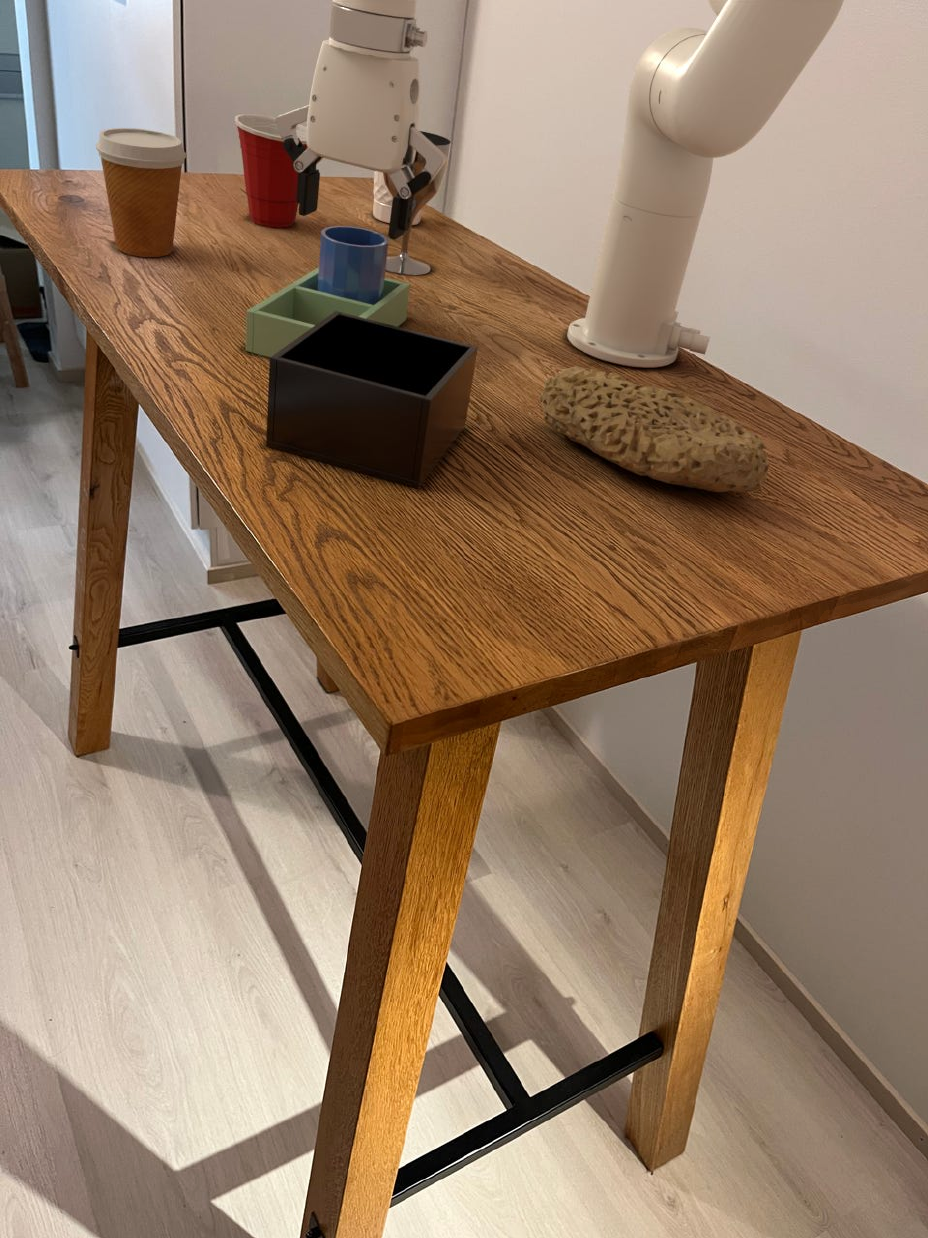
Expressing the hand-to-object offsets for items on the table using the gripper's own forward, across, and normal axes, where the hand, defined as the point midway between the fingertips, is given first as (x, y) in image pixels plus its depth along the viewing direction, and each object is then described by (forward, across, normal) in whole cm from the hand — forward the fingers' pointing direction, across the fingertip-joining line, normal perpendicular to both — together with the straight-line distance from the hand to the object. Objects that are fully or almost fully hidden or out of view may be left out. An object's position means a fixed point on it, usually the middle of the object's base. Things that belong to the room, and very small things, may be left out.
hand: (351, 224), depth 103 cm
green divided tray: (+10, 0, +4) cm, 11 cm away
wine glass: (+10, +2, -24) cm, 26 cm away
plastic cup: (+10, +22, -29) cm, 37 cm away
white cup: (+10, +10, -44) cm, 46 cm away
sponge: (+10, -36, +15) cm, 40 cm away
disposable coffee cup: (+11, +28, -7) cm, 30 cm away
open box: (+10, -12, +24) cm, 29 cm away
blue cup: (+10, 0, 0) cm, 10 cm away
